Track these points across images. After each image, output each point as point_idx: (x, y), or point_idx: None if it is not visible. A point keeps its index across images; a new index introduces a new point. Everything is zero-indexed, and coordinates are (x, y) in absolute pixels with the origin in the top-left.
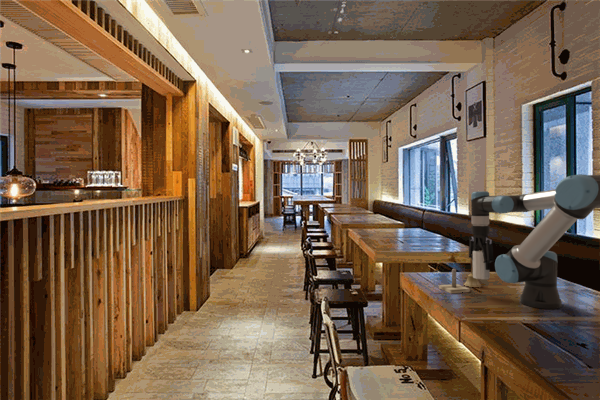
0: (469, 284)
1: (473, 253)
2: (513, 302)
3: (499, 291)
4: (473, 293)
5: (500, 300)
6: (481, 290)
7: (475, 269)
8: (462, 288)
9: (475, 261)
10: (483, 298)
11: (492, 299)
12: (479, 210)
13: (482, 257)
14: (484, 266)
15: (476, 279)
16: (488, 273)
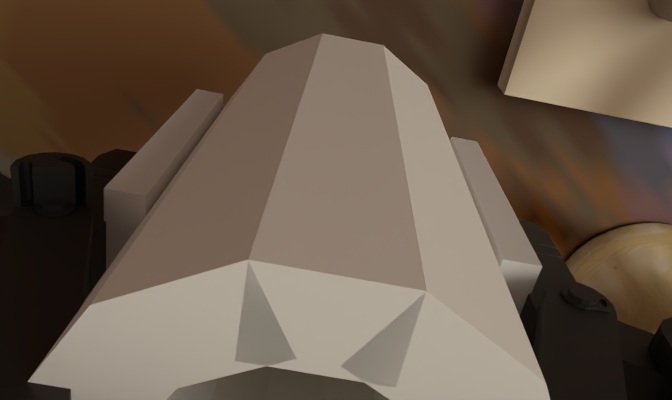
0: (636, 251)
1: (404, 245)
2: (49, 144)
3: None
4: (437, 74)
5: (135, 98)
6: None
7: (326, 69)
8: (564, 31)
9: (311, 123)
10: (248, 7)
11: (187, 59)
12: None
13: (115, 260)
14: (137, 156)
15: None
16: None
